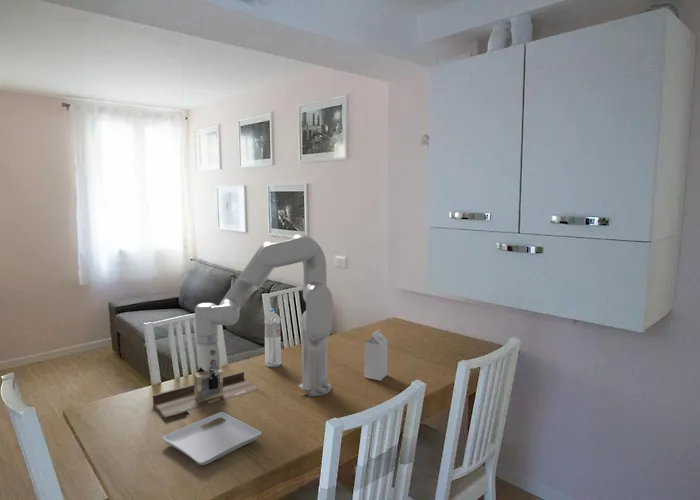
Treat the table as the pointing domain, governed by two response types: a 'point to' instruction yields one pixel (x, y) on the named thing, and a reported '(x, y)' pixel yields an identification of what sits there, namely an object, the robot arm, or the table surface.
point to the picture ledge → (184, 399)
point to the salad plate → (211, 438)
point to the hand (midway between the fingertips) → (208, 384)
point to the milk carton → (376, 357)
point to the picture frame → (207, 386)
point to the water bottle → (272, 340)
